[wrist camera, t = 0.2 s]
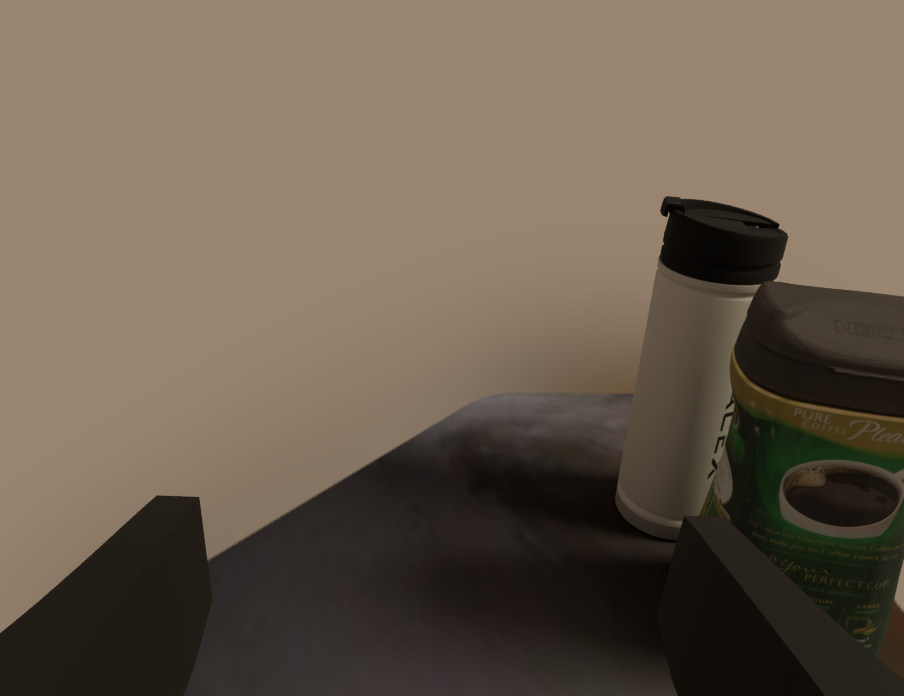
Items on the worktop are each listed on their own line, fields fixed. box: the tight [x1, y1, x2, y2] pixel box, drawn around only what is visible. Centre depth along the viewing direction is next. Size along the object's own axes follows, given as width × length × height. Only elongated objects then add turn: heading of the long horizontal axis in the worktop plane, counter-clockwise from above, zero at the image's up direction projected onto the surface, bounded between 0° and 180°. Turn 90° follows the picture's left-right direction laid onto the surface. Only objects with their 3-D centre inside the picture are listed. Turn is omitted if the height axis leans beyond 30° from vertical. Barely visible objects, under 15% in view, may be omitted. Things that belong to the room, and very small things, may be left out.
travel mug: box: [615, 196, 788, 540], centre depth 41 cm, size 6×7×20 cm
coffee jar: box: [699, 281, 904, 658], centre depth 34 cm, size 10×8×19 cm
